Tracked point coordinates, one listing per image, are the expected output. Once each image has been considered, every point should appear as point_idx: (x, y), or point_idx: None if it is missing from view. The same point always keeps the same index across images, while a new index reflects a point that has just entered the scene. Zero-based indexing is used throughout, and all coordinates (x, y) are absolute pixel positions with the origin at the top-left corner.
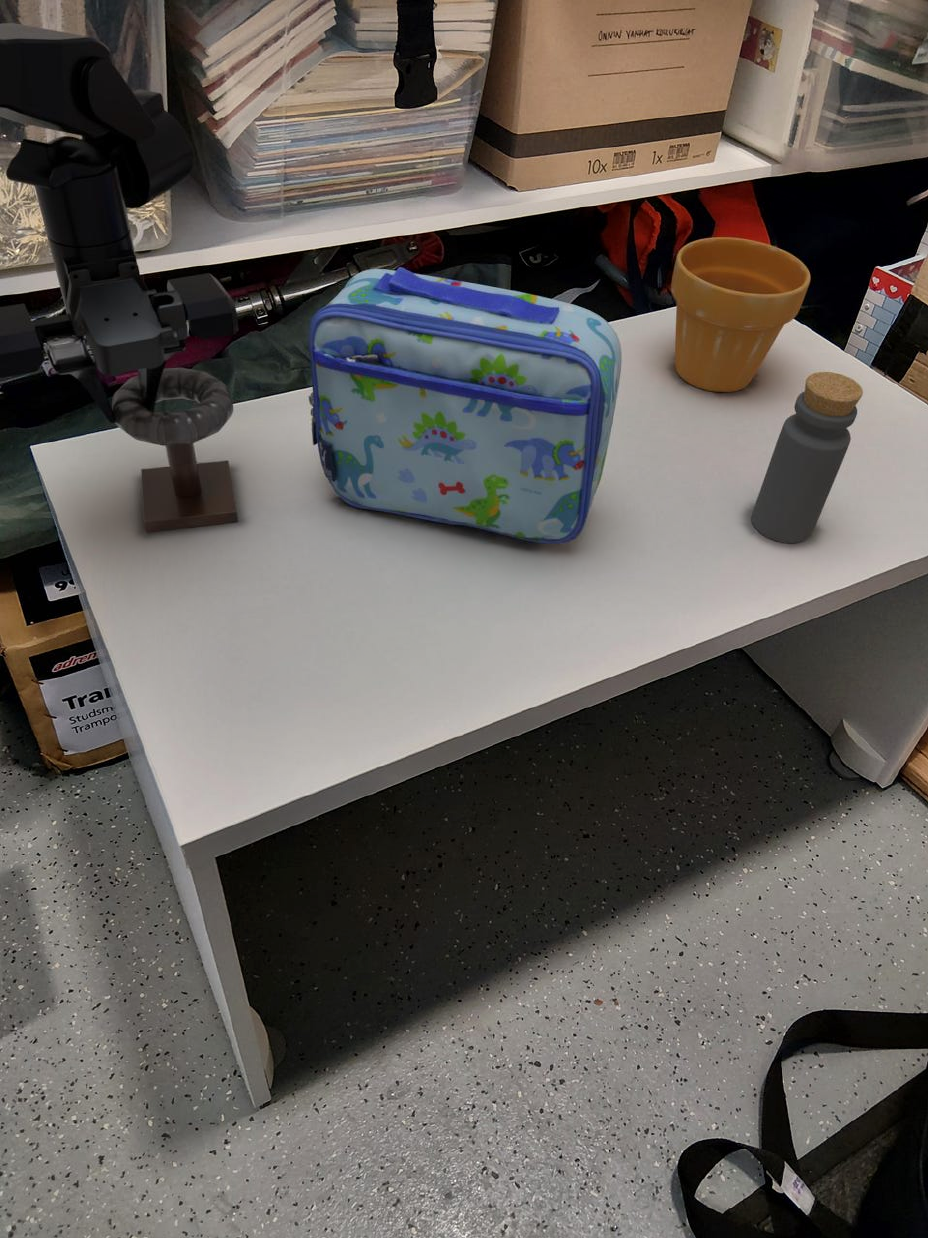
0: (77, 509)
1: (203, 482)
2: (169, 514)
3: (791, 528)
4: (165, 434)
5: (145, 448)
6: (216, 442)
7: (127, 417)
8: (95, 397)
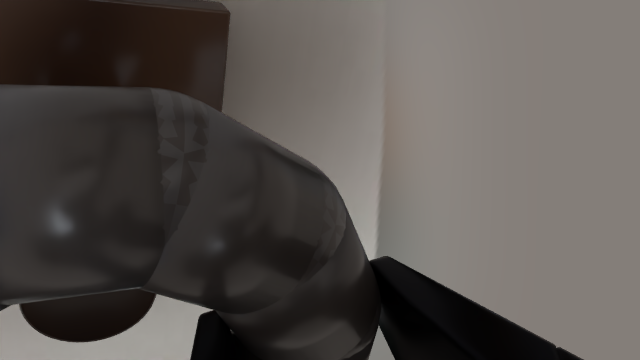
0: (356, 133)
1: None
2: (151, 28)
3: None
4: (149, 106)
5: (188, 314)
6: (4, 338)
7: (349, 257)
8: (535, 344)
